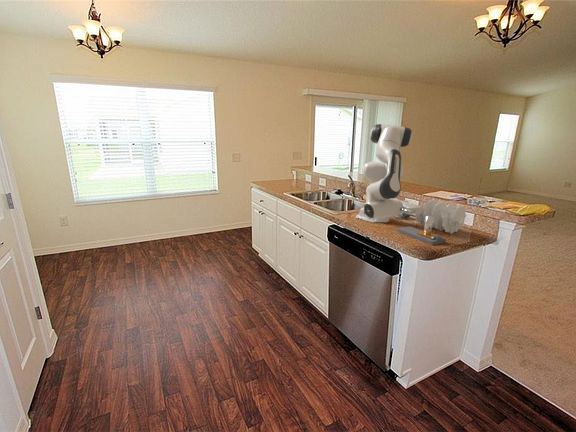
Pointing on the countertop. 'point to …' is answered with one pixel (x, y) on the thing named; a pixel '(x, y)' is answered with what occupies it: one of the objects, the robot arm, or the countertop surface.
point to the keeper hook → (437, 237)
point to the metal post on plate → (427, 228)
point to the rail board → (413, 233)
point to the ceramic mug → (403, 216)
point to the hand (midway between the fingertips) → (414, 204)
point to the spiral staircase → (443, 216)
